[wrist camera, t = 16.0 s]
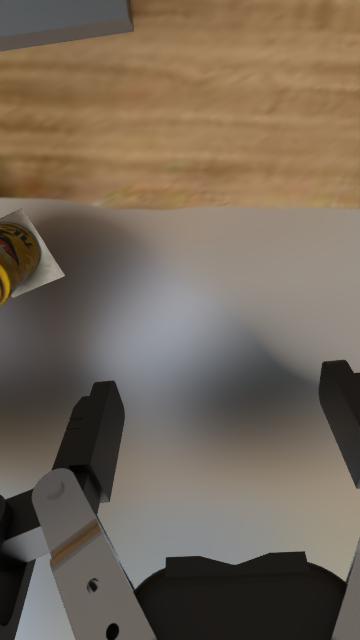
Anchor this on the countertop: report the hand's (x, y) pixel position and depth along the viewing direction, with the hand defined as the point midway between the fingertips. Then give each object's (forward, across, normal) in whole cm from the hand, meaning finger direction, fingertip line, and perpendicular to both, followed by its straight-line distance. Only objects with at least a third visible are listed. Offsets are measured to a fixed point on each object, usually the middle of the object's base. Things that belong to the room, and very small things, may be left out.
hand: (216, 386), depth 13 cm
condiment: (+27, +21, +3) cm, 34 cm away
